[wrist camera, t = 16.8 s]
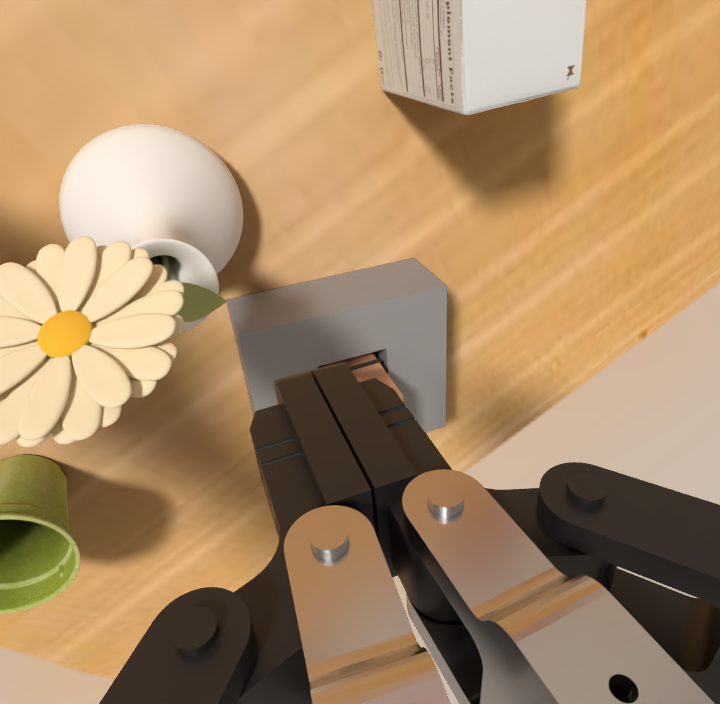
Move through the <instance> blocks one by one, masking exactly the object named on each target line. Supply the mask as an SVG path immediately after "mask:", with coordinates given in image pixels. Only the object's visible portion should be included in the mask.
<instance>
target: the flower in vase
mask: <svg viewBox="0 0 720 704" xmlns="http://www.w3.org/2000/svg"><path fill="white" fill-rule="evenodd" d="M59 211H60V217H61V222H62V226H63V229H64V232H65V234H66V237H67V239H68V241H69V245H68V247H67V248H66V249H63V247H61V246H60V245H57V244H49V245H46V246H44V247H43V248H42V249H41V250H40V251H39V252H38V255H37V258H36V260H35V261H32V262H30V263H29V264H28V265H27V266H26V267H24V266H22V265H20V264H17V263H13V262H8V263H4V264H2V265H0V445H3V444H7V443H10V442H11V441H13V440H15V439H17V443H18V444H19V445H20V446H22V447H33V446H37V445H38V444H40V443H42V442H43V441H44V440H45V439H46V438H47V437H48V436H49V435H50V434H51V432H52V435H53V438H54V440H55V441H56V442H57V443H59V444H63V445H64V444H70V443H73V442H75V441H76V440H83V439H86V438H89V437H91V436H92V435H94V433H95V432H96V431H97V430H98V428H99V427H100V428H103V427H107V426H110V425H111V424H113V423H115V422H116V421H117V420H118V418H119V417H120V415H121V412H122V405H123V404H124V403H125V402H126V401H127V400H128V399H129V398H130V397H133V398H141V397H145V396H147V395H149V394H150V393H151V392H152V391H153V390H154V388H155V387H156V384H157V380H159V379H162V378H163V377H165V376H166V375H167V374H168V372H169V370H170V368H171V365H172V363H173V361H174V360H175V358H176V356H177V348H176V346H175V345H174V344H173V343H171V342H169V341H168V340H170V339H172V338H174V337H175V336H177V335H178V334H179V333H180V332H184V331H187V330H189V329H191V328H193V327H195V326H197V325H198V324H200V323H201V322H202V321H203V320H205V319H206V318H207V317H208V315H209V314H210V313H211V312H213V311H214V310H215V309H217V308H218V307H220V306H221V305H223V304H224V303H226V302H227V301H226V300H225V299H223V298H222V297H221V296H219V295H218V293H219V282H218V277H217V274H218V273H219V272H220V271H221V270H222V269H223V268H224V267H225V266H226V264H227V263H228V262H229V261H230V259H231V257H232V256H233V254H234V252H235V251H236V248H237V246H238V243H239V241H240V237H241V233H242V228H243V206H242V199H241V196H240V192H239V189H238V186H237V184H236V182H235V179H234V177H233V176H232V174H231V172H230V171H229V169H228V168H227V166H226V165H225V164H224V162H223V161H222V160H221V159H220V158H219V157H218V156H217V155H216V154H215V152H214V151H212V150H211V149H210V148H209V147H207V146H206V145H205V144H204V143H202V142H201V141H199V140H197V139H196V138H194V137H193V136H190V135H188V134H186V133H184V132H182V131H179V130H176V129H173V128H170V127H165V126H160V125H150V124H137V125H128V126H123V127H119V128H115V129H113V130H110V131H107V132H105V133H103V134H101V135H99V136H98V137H96V138H94V139H93V140H91V141H90V142H89V143H88V144H86V145H85V146H84V147H83V148H82V149H81V150H80V151H79V152H78V153H77V154H76V155H75V157H74V158H73V160H72V161H71V163H70V164H69V166H68V168H67V170H66V172H65V174H64V177H63V181H62V184H61V188H60V196H59Z"/></svg>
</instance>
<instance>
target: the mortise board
mask: <svg viewBox="0 0 720 704" xmlns="http://www.w3.org/2000/svg"><path fill="white" fill-rule="evenodd" d="M226 301H227V305H228V310H229V314H230V318H231V322H232V326H233V331H234V335H235V339H236V343H237V348H238V352H239V356H240V360H241V364H242V369H243V373H244V377H245V381H246V385H247V390H248V394H249V398H250V402H251V407H252V411H253V415H254V414H255V411H257V410H260V409H264V408H268V407H271V406H275V405H278V402H277V397H276V392H275V387H274V380H276V379H280V378H284V377H288V376H292V375H295V374H299V373H303V372H307V371H309V372H310V371H311V370H314V369H318V368H321V366H322V365H326V364H330V363H333V362H337V361H341V360H345V359H349V358H352V357H356V356H360V355H364V354H368V353H371V352H372V353H373V354H374V356H375V357H376V359H379V360H380V361H381V365H382V367H383V368H384V370H385V371H386V372H387V374H388V375H389V377H390V378H391V379H392V381H393V382H394V384H395V385H396V386H397V388H398V389H399V391H400V392H401V393H402V395H403V402H404V404H405V407H406V408H408V409H409V411H410V412H411V414H412V415H413V416H414V419H415V421H417V422H418V423H419V425H420V426H421V427H422V429H423V430H424V432H428V431H431V430H435V429H438V428H441V427H444V426H446V353H447V285H446V284H445V283H444V282H442V281H441V280H440V279H439V278H438V277H436V276H435V275H434V274H433V273H432V272H431V271H429V270H428V269H427V268H426V267H425V266H424V265H422V264H421V263H420V262H419V261H418V260H416V259H415V258H411V259H406V260H402V261H397V262H393V263H388V264H384V265H379V266H375V267H370V268H366V269H361V270H357V271H352V272H348V273H343V274H339V275H334V276H330V277H325V278H321V279H316V280H312V281H307V282H303V283H298V284H294V285H289V286H285V287H280V288H276V289H271V290H267V291H262V292H258V293H253V294H249V295H245V296H240V297H236V298H231V299H227V300H226Z"/></svg>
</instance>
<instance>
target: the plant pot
mask: <svg viewBox="0 0 720 704" xmlns="http://www.w3.org/2000/svg"><path fill="white" fill-rule="evenodd" d="M79 568H80V550H79V547H78V544H77V542H76V540H75V539H74V538H73V535H72V532H71V530H70V520H69V506H68V488H67V479H66V477H65V475H64V473H63V472H62V470H61V469H60V467H59V466H58V465H57V464H56V463H54V462H53V461H51V460H49V459H47V458H44V457H40V456H35V455H16V456H13V457H11V458H8V459H5V460H2V461H0V614H7V613H13V612H19V611H23V610H26V609H30V608H33V607H36V606H38V605H41V604H43V603H45V602H47V601H49V600H51V599H53V598H54V597H56V596H57V595H59V594H60V593H62V592H63V591H64V590H65V589H66V588H67V587H68V586H69V585H70V584H71V583H72V581H73V580H74V579H75V577H76V575H77V573H78V571H79Z"/></svg>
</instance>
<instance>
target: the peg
mask: <svg viewBox="0 0 720 704" xmlns="http://www.w3.org/2000/svg"><path fill="white" fill-rule="evenodd" d="M341 362H346V363H347V365H348V366H349V368H350V369H351V371H352V373H353V374H354V376H355V377H356V379H357V380H358V382H362V381H365V380H369V379H373V378H376V379H377V380H379V381H381V382H383V383H384V384H386V385H388V386H390V387H391V388H393V389H394V390H395V391H396V393H397V394H398V396H399V397H400V398H401V400H402V401H403V395H402V393H401V392H400V391H399V389H398V388H397V386H396V385H395V384H394V382H393V381H392V379H391V378H390V377H389V375H388V374H387V372H386V371H385V370H384V368H383V367H382V365H381V361H380V360H379V359H376V357H375V356H374V354H373V353H372V352H371V353H368V354H364V355H360V356H356V357H352V358H349V359H345V360H341V361H337V362H333V363H330V364H326V365H322V366H321V367H325V366H329V365H333V364H337V363H341ZM403 403H404V402H403Z"/></svg>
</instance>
